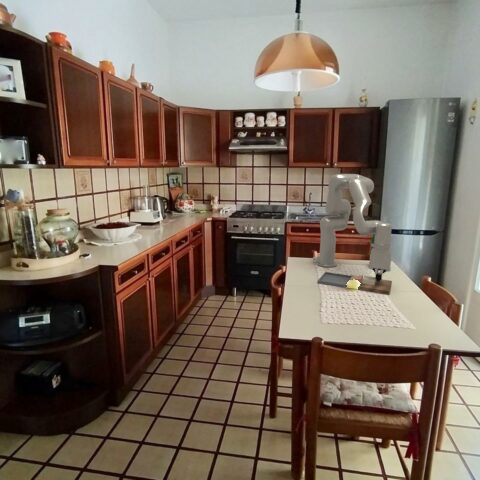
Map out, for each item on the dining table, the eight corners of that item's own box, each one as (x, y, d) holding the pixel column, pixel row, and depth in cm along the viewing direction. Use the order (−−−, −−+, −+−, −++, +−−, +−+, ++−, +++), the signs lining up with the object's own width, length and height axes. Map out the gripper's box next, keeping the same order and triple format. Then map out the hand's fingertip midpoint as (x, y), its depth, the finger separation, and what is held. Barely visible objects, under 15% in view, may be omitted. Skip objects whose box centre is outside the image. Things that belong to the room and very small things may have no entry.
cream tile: (362, 283, 180) (362, 278, 180) (363, 280, 185) (364, 275, 185) (374, 285, 178) (374, 280, 177) (375, 281, 183) (376, 277, 182)
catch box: (317, 283, 185) (317, 280, 185) (325, 274, 201) (325, 271, 201) (359, 290, 176) (360, 287, 175) (364, 280, 191) (364, 277, 191)
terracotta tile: (350, 284, 183) (349, 279, 183) (352, 281, 188) (351, 276, 188) (362, 283, 180) (361, 278, 180) (363, 279, 186) (362, 275, 185)
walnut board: (359, 290, 176) (360, 286, 175) (364, 280, 191) (364, 276, 191) (389, 295, 169) (389, 291, 169) (391, 284, 185) (391, 280, 185)
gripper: (365, 246, 175) (362, 280, 179) (397, 250, 169) (393, 285, 173) (367, 243, 182) (364, 276, 186) (397, 247, 175) (394, 281, 179)
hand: (378, 280), depth 179 cm, fingers closed
